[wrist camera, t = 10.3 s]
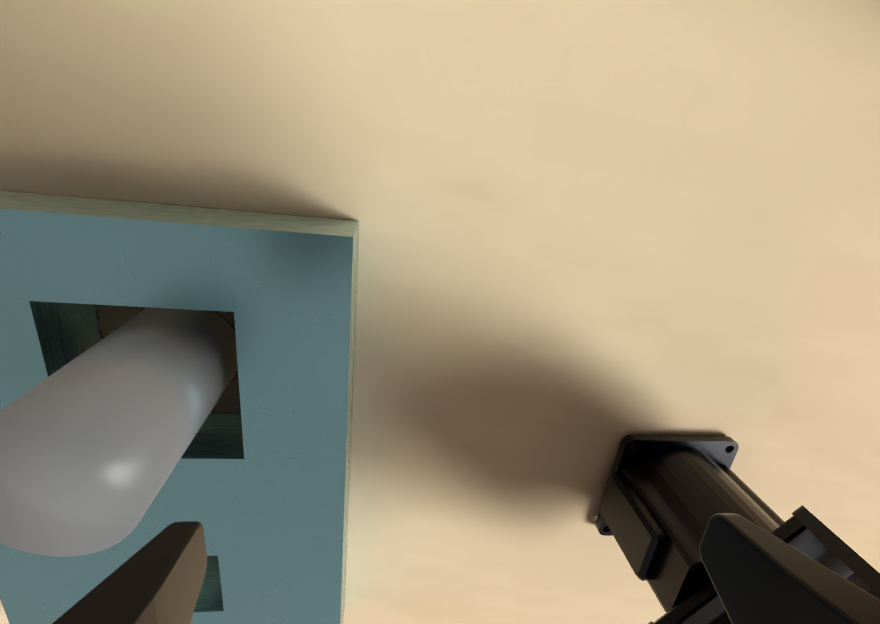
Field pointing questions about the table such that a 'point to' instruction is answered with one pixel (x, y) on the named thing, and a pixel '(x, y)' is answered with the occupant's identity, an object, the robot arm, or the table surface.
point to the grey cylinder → (109, 431)
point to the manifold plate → (222, 434)
